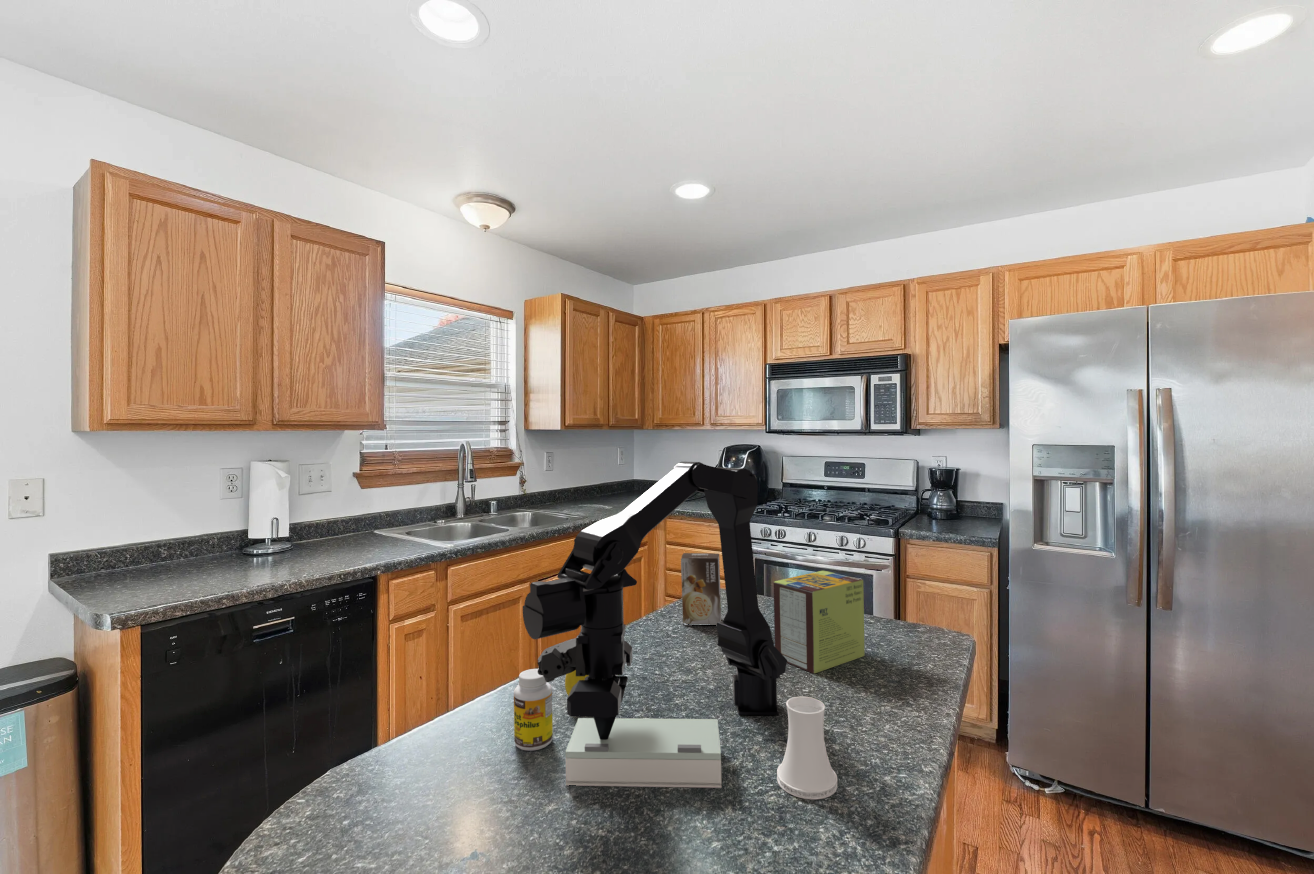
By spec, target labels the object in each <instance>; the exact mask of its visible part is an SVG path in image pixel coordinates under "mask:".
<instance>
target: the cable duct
mask: <svg viewBox="0 0 1314 874" xmlns="http://www.w3.org/2000/svg"><path fill="white" fill-rule="evenodd" d="M569 785H576V787H580V786H581V787H583V786H584V787H585V786H586V787H588V786H589V787H639V788H640V787H643V788H645V787H652V788H666V787H667V788H712V789H713V788H719V789H720V788H722V759H721V760H710V759H624V758H565V786H569Z"/></svg>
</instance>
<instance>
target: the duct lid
mask: <svg viewBox="0 0 1314 874" xmlns="http://www.w3.org/2000/svg"><path fill="white" fill-rule="evenodd" d="M720 740H721V739H720V730H719V720H718V718H633V717H632V718H629V717H628V718H627V717H626V718H623V717H622V718H619V717H618V718H617V717H616V718H615V721H614V724H613V727H612V729H611V732H610V735H609V738H608V739H607V740H601V739H600V738H599V734H598V731H597V728H596V724H595V721H594V717H578V718H577V721H576V723H575V726H574V729H573V731H572V734H571V736H570V738H569V742H568V744H567V747H566V750H565V753H564V754H565V759H566V758H624V759H710V760H721V761H722V751H721V741H720Z"/></svg>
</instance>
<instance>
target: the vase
mask: <svg viewBox="0 0 1314 874" xmlns="http://www.w3.org/2000/svg"><path fill="white" fill-rule="evenodd" d="M785 704H786V710H787V717H788V718H787V720H788V732H787V733H788V734H787V743H786V749H785V753H784V755H783V760H782V762H781V763H780V764H779V765H778V767H777V770H776V774H777V775H776V781H777V783H778V785H779V787H780V788H781V789H782V790H783V791H785V792H786V793H788V794H789V795H792V796H794V797H797V798H800V799H805V800H821V799H826V798H829V797H831V796H833V795H834V794H835V793H836V792H837V789H838V775H837V773H836V772H835V770H834V769H833V768H832V765H831V763H830V760H829V759H830V758H829V757H828V752H827V748H826V743H825V733H824V718H825V710H826V706H825V704H824V702H823V701H821V700H819V699H817V698H814V697H811V696H794V697H790V698H789V699H787V700H786V702H785Z"/></svg>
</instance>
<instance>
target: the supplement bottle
mask: <svg viewBox="0 0 1314 874" xmlns="http://www.w3.org/2000/svg"><path fill="white" fill-rule="evenodd" d="M538 669H539V668H530V669H526V670H523V671H521V672H520V673H519V675H518V684H517V686H516V687H515V688H514V690H513V727H514V728H513V730H514V731H513V735H514V737H513V738H514V739H513V740H514V741H513V742H514V745H515V746H516V747H517V748H518V749H519V750H522V751H529V752H530V751H538V750H542V749H544V748H546V747H547V746H548V745H550V744H551V742H552V740H553V737H554V735H553V733H554V732H553V730H554V729H553V727H554V725H553V723H554V721H553V687H552V685H551V684H550V682H546V681H545V679H544V677H543V675H539V674H538Z"/></svg>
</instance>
